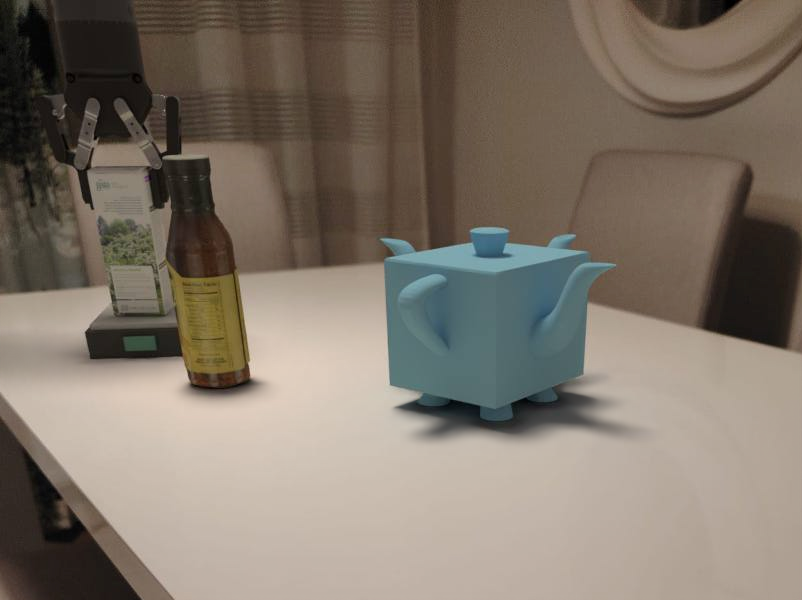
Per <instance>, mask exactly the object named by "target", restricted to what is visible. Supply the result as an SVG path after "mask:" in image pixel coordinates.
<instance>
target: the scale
mask: <svg viewBox="0 0 802 600" xmlns="http://www.w3.org/2000/svg"><path fill="white" fill-rule="evenodd" d="M84 335H85V341H86V344H87V345H86V346H87V350H88V354H89V358H90V359H117V358H118V359H119V358H120V359H123V358H146V357H147V358H149V357H179V356H182V357H183V353H182V348H181V342H180V336H179V331H178V324H177V320H176V314H175V308H173V309H172V310H171V311H170V312H169V313H168V314H166V315H155V316H115V315H114V312H113V307H112V302H110V303H109V304H108V305H107V306H106V307H105V308H104V309H103V310H102V311H101V312H100V313H99V315H97V317H96V318H94V320H93V321H92V322H91V323H89V327H88V328H87V329H86V330H84Z"/></svg>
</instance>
